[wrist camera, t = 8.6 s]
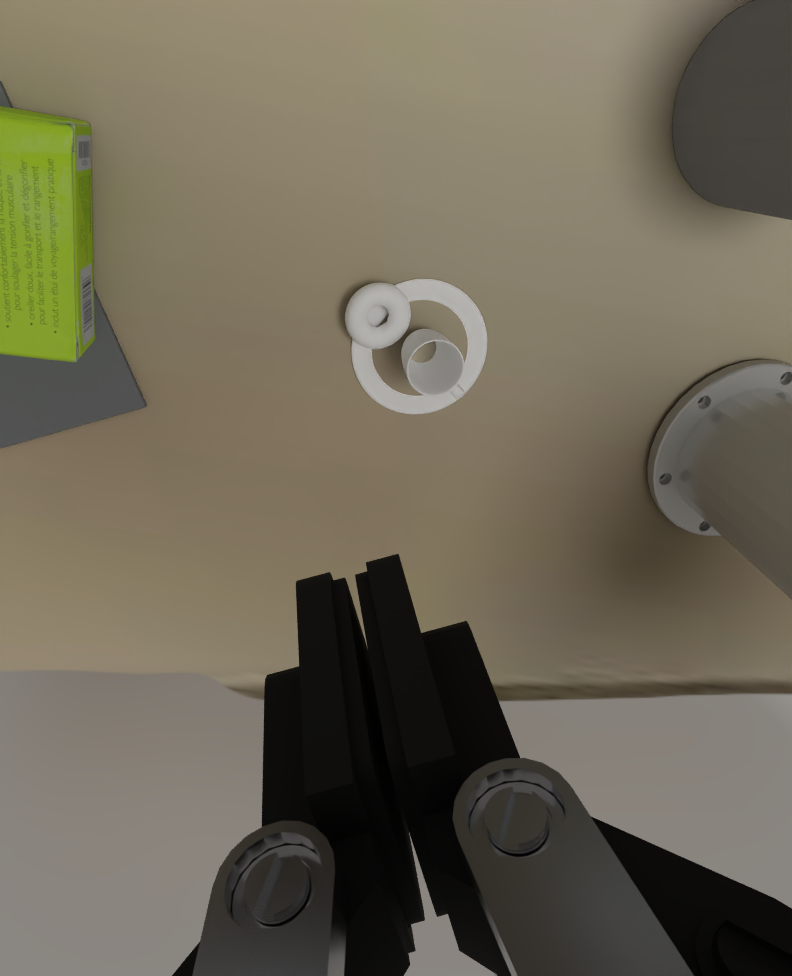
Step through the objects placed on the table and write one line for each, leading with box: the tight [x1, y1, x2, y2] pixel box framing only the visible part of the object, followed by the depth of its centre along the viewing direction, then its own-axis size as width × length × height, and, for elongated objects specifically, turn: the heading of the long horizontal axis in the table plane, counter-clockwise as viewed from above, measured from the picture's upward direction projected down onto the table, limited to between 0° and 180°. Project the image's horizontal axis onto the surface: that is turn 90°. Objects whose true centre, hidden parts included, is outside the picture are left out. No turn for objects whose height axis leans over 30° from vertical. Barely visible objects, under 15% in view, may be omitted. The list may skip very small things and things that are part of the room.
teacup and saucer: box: [345, 279, 487, 414], centre depth 38 cm, size 9×8×4 cm
